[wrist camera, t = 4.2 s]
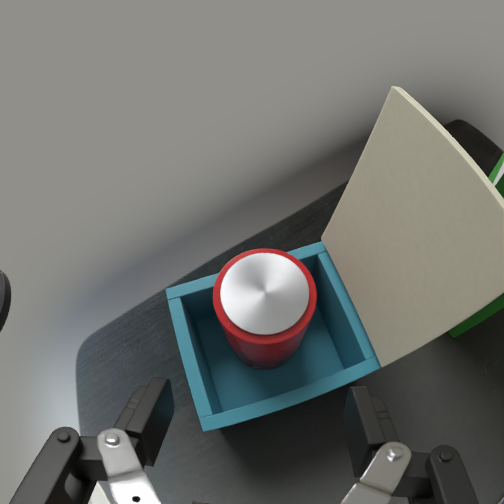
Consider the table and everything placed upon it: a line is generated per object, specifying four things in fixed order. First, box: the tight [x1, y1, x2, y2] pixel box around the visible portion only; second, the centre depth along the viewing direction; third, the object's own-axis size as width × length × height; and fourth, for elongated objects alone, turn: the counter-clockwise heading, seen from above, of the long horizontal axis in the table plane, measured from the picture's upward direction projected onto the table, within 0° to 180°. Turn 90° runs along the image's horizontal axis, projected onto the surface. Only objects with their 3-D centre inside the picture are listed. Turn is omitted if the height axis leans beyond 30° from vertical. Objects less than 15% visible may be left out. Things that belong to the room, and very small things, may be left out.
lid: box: [321, 86, 504, 367], centre depth 16 cm, size 14×11×1 cm
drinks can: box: [213, 249, 317, 370], centre depth 23 cm, size 6×6×10 cm
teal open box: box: [166, 241, 382, 432], centre depth 24 cm, size 13×11×7 cm
